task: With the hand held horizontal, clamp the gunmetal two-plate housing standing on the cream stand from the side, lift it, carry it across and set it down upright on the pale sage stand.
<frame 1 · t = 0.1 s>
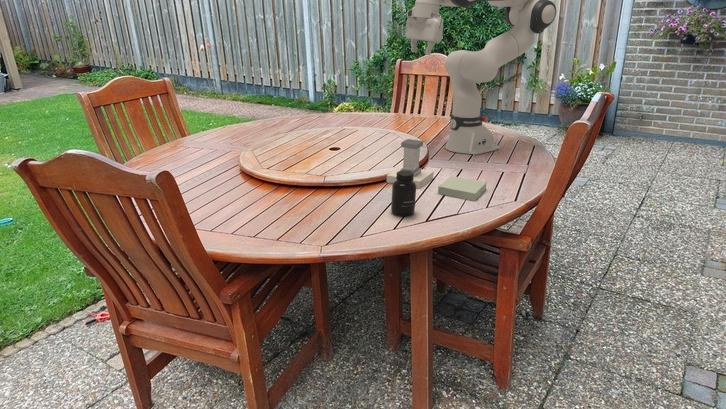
hand: (420, 53, 180), 39 cm above the table, tool pointing down, fingers open, 8 cm apart
supplement bottle: (402, 212, 142), on the table
stand b: (462, 191, 158), on the table
housing: (410, 173, 166), point 2 cm above the table, touching stand a
stand a: (410, 180, 167), on the table
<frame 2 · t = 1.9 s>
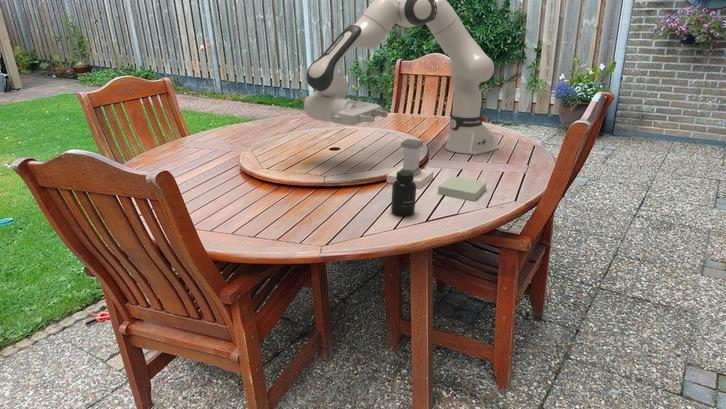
hand: (380, 117, 165), 20 cm above the table, tool horizontal, fingers open, 8 cm apart
nothing on the table moved.
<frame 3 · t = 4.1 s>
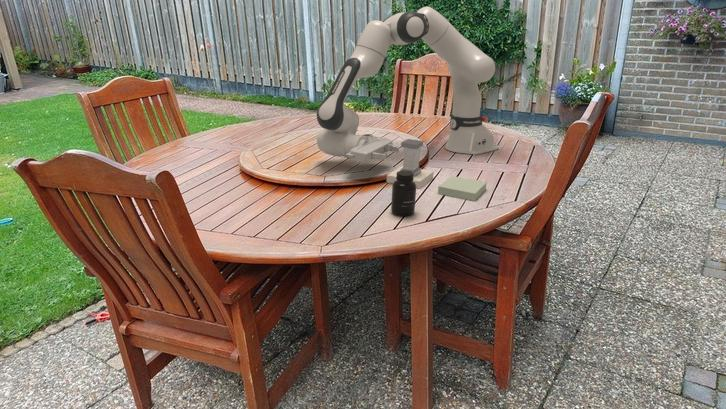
hand: (392, 153, 167), 8 cm above the table, tool horizontal, fingers open, 8 cm apart
nothing on the table moved.
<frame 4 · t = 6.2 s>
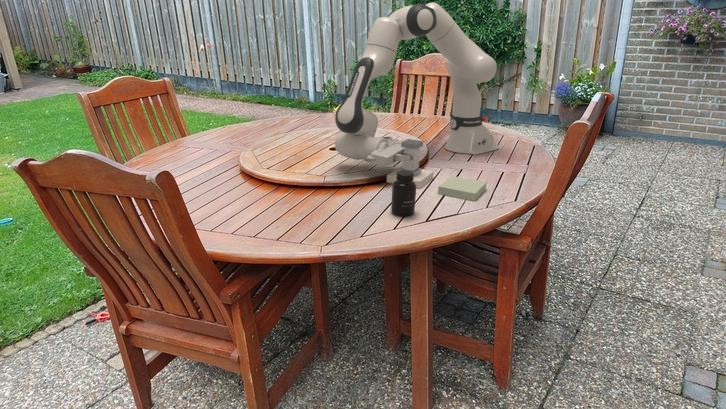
hand: (413, 156, 163), 9 cm above the table, tool horizontal, fingers closed on housing, 4 cm apart
housing: (410, 173, 166), point 2 cm above the table, touching gripper, stand a
everything else where it was.
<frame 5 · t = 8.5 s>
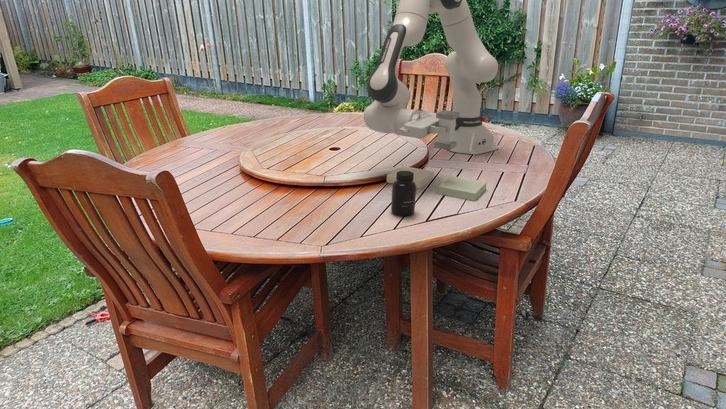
hand: (449, 128, 153), 20 cm above the table, tool horizontal, fingers closed on housing, 4 cm apart
housing: (445, 146, 156), point 14 cm above the table, touching gripper
everything else where it was.
when the fingers open (10 cm above the table, at t = 11.2 s): housing drops 1 cm, resting on stand b.
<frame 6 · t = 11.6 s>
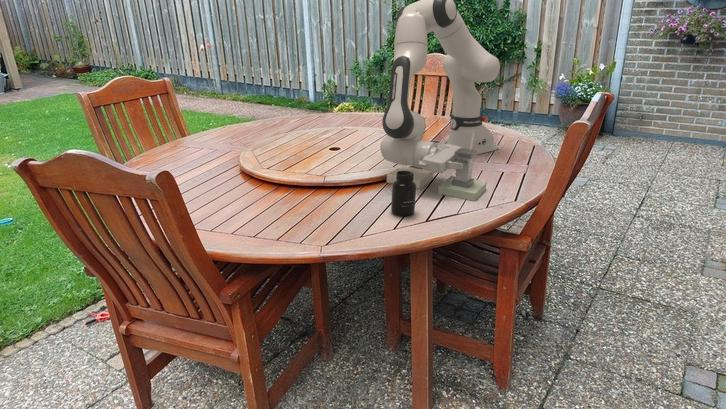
hand: (467, 162, 153), 10 cm above the table, tool horizontal, fingers open, 8 cm apart
housing: (462, 184, 157), point 2 cm above the table, touching stand b
everything else where it was.
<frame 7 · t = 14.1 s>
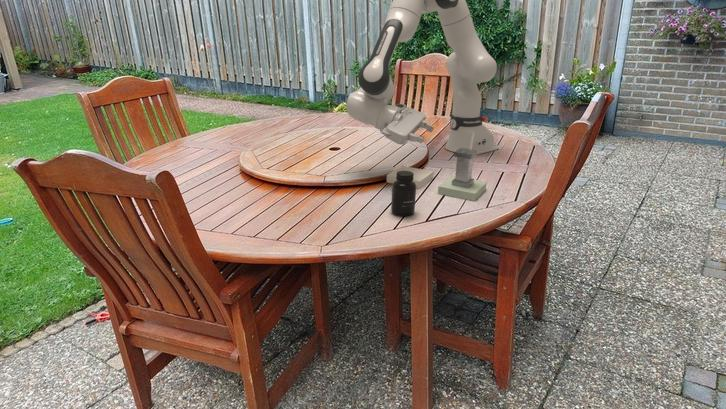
hand: (428, 135, 159), 16 cm above the table, tool tilted 75°, fingers open, 8 cm apart
nothing on the table moved.
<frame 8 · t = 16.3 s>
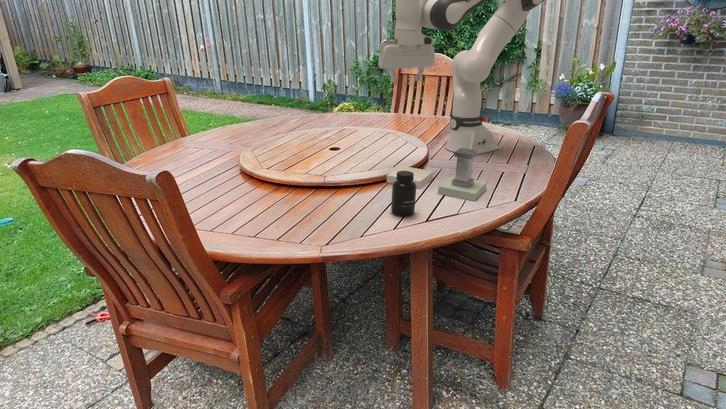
hand: (405, 81, 167), 31 cm above the table, tool pointing down, fingers open, 8 cm apart
nothing on the table moved.
at the end: housing inside the target area on the stand b (0.1 cm from its centre), point 2.5 cm above the stand b's base; housing tilted 0°; the gripper is holding nothing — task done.
